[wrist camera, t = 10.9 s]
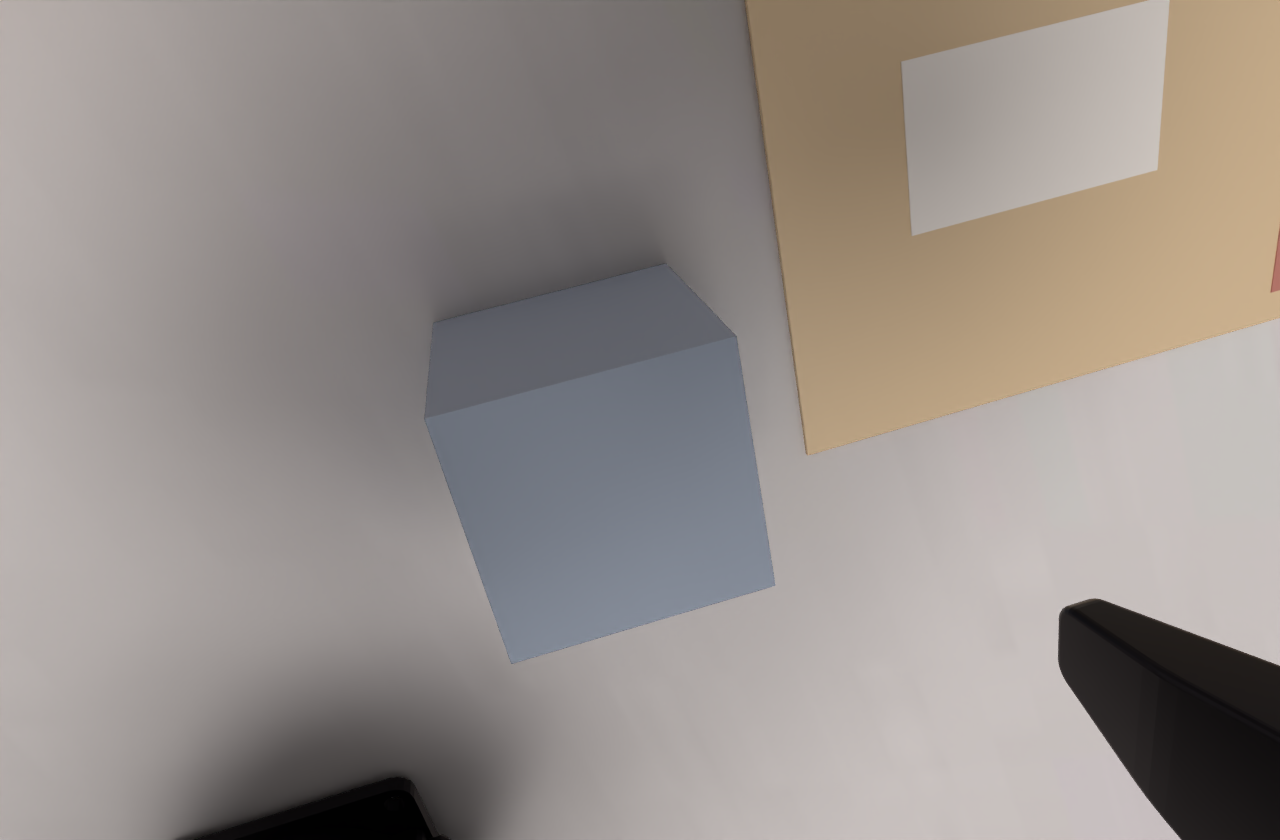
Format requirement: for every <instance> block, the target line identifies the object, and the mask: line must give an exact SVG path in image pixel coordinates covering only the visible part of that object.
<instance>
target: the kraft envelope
mask: <svg viewBox="0 0 1280 840" xmlns="http://www.w3.org/2000/svg"><path fill="white" fill-rule="evenodd" d="M745 6H746V13H747V21H748V28H749V36H750V43H751V50H752V58H753V65H754V73H755V80H756V87H757V95H758V102H759V110H760V117H761V124H762V132H763V139H764V147H765V154H766V161H767V169H768V176H769V184H770V191H771V198H772V206H773V213H774V221H775V228H776V235H777V243H778V250H779V257H780V265H781V272H782V280H783V287H784V294H785V302H786V309H787V317H788V324H789V331H790V339H791V346H792V354H793V361H794V368H795V376H796V383H797V391H798V398H799V405H800V413H801V420H802V428H803V435H804V442H805V450H806V454H807V455H811V454H815V453H818V452H822V451H825V450H829V449H832V448H835V447H839V446H842V445H846V444H849V443H853V442H856V441H859V440H863V439H866V438H870V437H873V436H877V435H880V434H883V433H887V432H890V431H894V430H897V429H900V428H904V427H907V426H911V425H914V424H918V423H921V422H924V421H928V420H931V419H935V418H938V417H942V416H945V415H948V414H952V413H955V412H959V411H962V410H966V409H969V408H972V407H976V406H979V405H983V404H986V403H990V402H993V401H996V400H1000V399H1003V398H1007V397H1010V396H1014V395H1017V394H1020V393H1024V392H1027V391H1031V390H1034V389H1037V388H1041V387H1044V386H1048V385H1051V384H1055V383H1058V382H1061V381H1065V380H1068V379H1072V378H1075V377H1079V376H1082V375H1085V374H1089V373H1092V372H1096V371H1099V370H1103V369H1106V368H1109V367H1113V366H1116V365H1120V364H1123V363H1127V362H1130V361H1133V360H1137V359H1140V358H1144V357H1147V356H1151V355H1154V354H1157V353H1161V352H1164V351H1168V350H1171V349H1175V348H1178V347H1181V346H1185V345H1188V344H1192V343H1195V342H1198V341H1202V340H1205V339H1209V338H1212V337H1216V336H1219V335H1222V334H1226V333H1229V332H1233V331H1236V330H1240V329H1243V328H1246V327H1250V326H1253V325H1257V324H1260V323H1264V322H1267V321H1270V320H1274V319H1277V318H1280V0H745Z"/></svg>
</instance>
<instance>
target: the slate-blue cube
mask: <svg viewBox="0 0 1280 840" xmlns="http://www.w3.org/2000/svg"><path fill="white" fill-rule="evenodd" d="M424 419H425V422H426V425H427V428H428V431H429V433H430V436H431V439H432V442H433V445H434V447H435V450H436V453H437V456H438V459H439V462H440V464H441V467H442V470H443V473H444V476H445V478H446V481H447V484H448V487H449V490H450V493H451V495H452V498H453V501H454V504H455V507H456V509H457V512H458V515H459V518H460V521H461V524H462V526H463V529H464V532H465V535H466V538H467V540H468V543H469V546H470V549H471V552H472V554H473V557H474V560H475V563H476V566H477V569H478V571H479V574H480V577H481V580H482V583H483V585H484V588H485V591H486V594H487V597H488V600H489V602H490V605H491V608H492V611H493V614H494V616H495V619H496V622H497V625H498V628H499V631H500V633H501V636H502V639H503V642H504V645H505V647H506V650H507V653H508V656H509V659H510V662H511V664H513V663H517V662H520V661H523V660H527V659H530V658H533V657H537V656H540V655H543V654H547V653H550V652H554V651H557V650H560V649H564V648H567V647H570V646H574V645H577V644H581V643H584V642H587V641H591V640H594V639H597V638H601V637H604V636H607V635H611V634H614V633H618V632H621V631H624V630H628V629H631V628H634V627H638V626H641V625H645V624H648V623H651V622H655V621H658V620H661V619H665V618H668V617H671V616H675V615H678V614H682V613H685V612H688V611H692V610H695V609H698V608H702V607H705V606H708V605H712V604H715V603H719V602H722V601H725V600H729V599H732V598H735V597H739V596H742V595H746V594H749V593H752V592H756V591H759V590H762V589H766V588H769V587H772V586H775V580H774V573H773V567H772V561H771V554H770V548H769V541H768V535H767V529H766V522H765V516H764V510H763V503H762V497H761V490H760V484H759V478H758V471H757V465H756V458H755V452H754V446H753V439H752V433H751V426H750V420H749V414H748V407H747V401H746V395H745V388H744V382H743V375H742V369H741V363H740V356H739V350H738V343H737V337H736V335H735V334H734V333H733V332H732V331H731V330H730V329H729V328H728V327H727V326H726V325H725V324H724V323H723V322H722V321H721V320H720V319H719V318H718V317H717V316H716V315H715V314H714V313H713V311H712V310H711V309H710V308H709V307H708V306H707V305H706V304H705V303H704V302H703V301H702V300H701V299H700V298H699V297H698V296H697V295H696V294H695V293H694V292H693V291H692V290H691V289H690V288H689V287H688V286H687V285H686V284H685V283H684V282H683V281H682V279H681V278H680V277H679V276H678V275H677V274H676V273H675V272H674V271H673V270H672V269H671V268H670V267H669V266H668V265H667V264H662V265H658V266H654V267H650V268H646V269H642V270H638V271H634V272H630V273H626V274H623V275H619V276H615V277H611V278H607V279H603V280H599V281H595V282H591V283H587V284H583V285H579V286H575V287H572V288H568V289H564V290H560V291H556V292H552V293H548V294H544V295H540V296H536V297H532V298H528V299H525V300H521V301H517V302H513V303H509V304H505V305H501V306H497V307H493V308H489V309H485V310H481V311H477V312H474V313H470V314H466V315H462V316H458V317H454V318H450V319H446V320H442V321H438V322H434V323H433V332H432V343H431V354H430V364H429V375H428V386H427V396H426V407H425V418H424Z"/></svg>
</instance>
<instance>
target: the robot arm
mask: <svg viewBox="0 0 1280 840" xmlns="http://www.w3.org/2000/svg"><path fill="white" fill-rule="evenodd" d="M1058 662H1059V667H1060V670H1061V673H1062V675H1063V677H1064V679H1065V681H1066V682H1067V684H1068V685H1069V687H1070V688H1071V690H1072V691H1073V692H1074V694H1075V695H1076V697H1077V698H1078V700H1079V701H1080V703H1081V704H1082V705H1083V707H1084V708H1085V710H1086V711H1087V713H1088V714H1089V716H1090V717H1091V719H1092V720H1093V721H1094V723H1095V724H1096V726H1097V727H1098V729H1099V730H1100V732H1101V733H1102V734H1103V736H1104V737H1105V739H1106V740H1107V742H1108V743H1109V745H1110V746H1111V748H1112V749H1113V750H1114V752H1115V753H1116V755H1117V756H1118V758H1119V759H1120V761H1121V762H1122V763H1123V765H1124V766H1125V768H1126V769H1127V771H1128V772H1129V774H1130V775H1131V776H1132V778H1133V779H1134V781H1135V782H1136V783H1137V785H1138V786H1139V788H1140V789H1141V790H1142V792H1143V793H1144V794H1145V796H1146V797H1147V799H1148V800H1149V801H1150V802H1151V804H1152V805H1153V806H1154V807H1155V808H1156V810H1157V811H1158V812H1159V813H1160V815H1161V816H1162V817H1163V818H1164V820H1165V821H1166V822H1167V823H1168V824H1169V826H1170V827H1171V828H1172V829H1173V830H1174V832H1175V833H1176V834H1177V835H1178V836H1179V837H1180V839H1181V840H1280V666H1279V665H1276V664H1274V663H1271V662H1268V661H1266V660H1263V659H1260V658H1258V657H1255V656H1252V655H1249V654H1247V653H1244V652H1241V651H1239V650H1236V649H1233V648H1231V647H1228V646H1225V645H1223V644H1220V643H1217V642H1215V641H1212V640H1209V639H1206V638H1204V637H1201V636H1198V635H1196V634H1193V633H1190V632H1188V631H1185V630H1182V629H1180V628H1177V627H1174V626H1171V625H1169V624H1166V623H1163V622H1161V621H1158V620H1155V619H1153V618H1150V617H1147V616H1145V615H1142V614H1139V613H1137V612H1134V611H1131V610H1128V609H1126V608H1123V607H1120V606H1118V605H1115V604H1112V603H1110V602H1107V601H1104V600H1101V599H1088V600H1085V601H1082V602H1079V603H1076V604H1072V605H1069V606H1066V607H1065V608H1063V609H1062V611H1061V613H1060V615H1059V640H1058ZM391 797H400V798H397V799H393V798H391ZM195 840H451V839H449V838H448V837H446V836H445V835H443V834H441V835H438V833H437V831H436V829H435V827H434V825H433V822H432V820H431V818H430V816H429V814H428V812H427V810H426V808H425V806H424V804H423V802H422V800H421V797H420V795H419V793H418V791H417V789H416V787H415V785H414V784H413V783H412V782H411V781H410V780H408V779H406V778H401V777H395V778H389V779H386V780H383V781H379V782H376V783H373V784H370V785H367V786H364V787H360V788H357V789H354V790H351V791H348V792H345V793H341V794H338V795H335V796H332V797H329V798H325V799H322V800H319V801H316V802H313V803H310V804H306V805H303V806H300V807H297V808H294V809H290V810H287V811H284V812H281V813H278V814H275V815H271V816H268V817H265V818H262V819H259V820H256V821H252V822H249V823H246V824H243V825H240V826H236V827H233V828H230V829H227V830H224V831H221V832H217V833H214V834H211V835H208V836H205V837H202V838H198V839H195Z"/></svg>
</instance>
